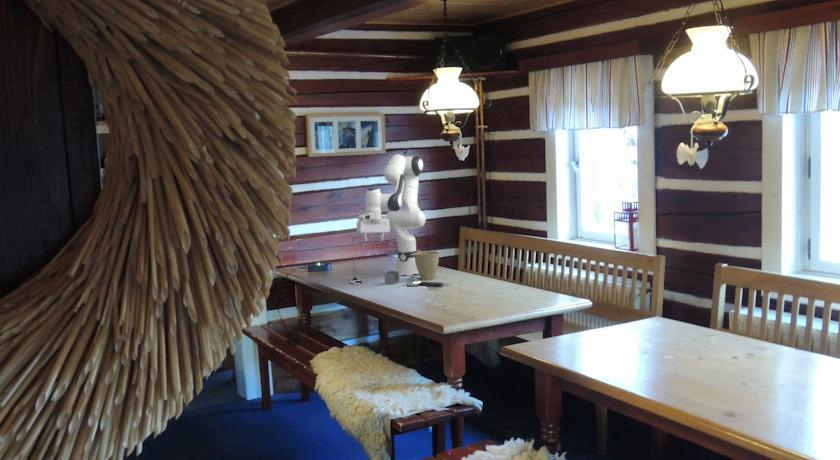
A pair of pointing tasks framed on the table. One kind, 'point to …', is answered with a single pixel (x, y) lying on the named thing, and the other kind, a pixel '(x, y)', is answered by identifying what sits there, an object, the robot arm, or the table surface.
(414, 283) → the ratchet
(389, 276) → the hollow square tube
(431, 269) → the plant pot
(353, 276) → the tow hook
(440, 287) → the mat
